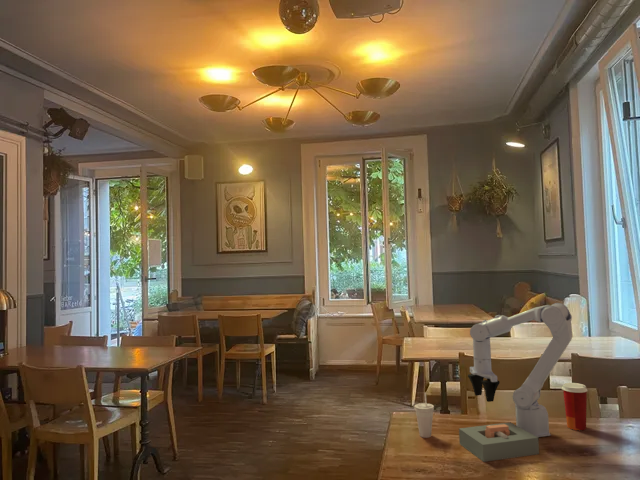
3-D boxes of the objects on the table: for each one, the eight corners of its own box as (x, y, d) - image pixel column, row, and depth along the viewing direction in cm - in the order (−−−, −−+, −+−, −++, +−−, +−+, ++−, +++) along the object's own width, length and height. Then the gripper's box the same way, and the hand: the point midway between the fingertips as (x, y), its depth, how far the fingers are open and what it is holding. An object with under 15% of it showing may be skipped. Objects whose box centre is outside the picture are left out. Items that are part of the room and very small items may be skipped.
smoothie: (435, 439, 162) (433, 395, 162) (415, 438, 163) (413, 395, 164) (435, 432, 168) (433, 390, 169) (415, 431, 170) (413, 389, 170)
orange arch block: (504, 443, 155) (503, 423, 155) (510, 447, 152) (509, 426, 152) (485, 445, 154) (485, 425, 154) (491, 449, 151) (490, 428, 151)
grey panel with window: (511, 437, 162) (510, 419, 162) (539, 454, 148) (538, 434, 148) (459, 444, 158) (458, 425, 158) (483, 461, 144) (482, 441, 144)
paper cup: (590, 425, 169) (588, 383, 169) (588, 433, 163) (586, 389, 163) (564, 422, 173) (562, 381, 174) (561, 429, 167) (559, 386, 167)
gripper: (461, 355, 180) (463, 393, 179) (482, 363, 165) (484, 405, 165) (479, 353, 181) (481, 391, 181) (502, 361, 167) (504, 403, 167)
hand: (484, 398), depth 173 cm, fingers open, 7 cm apart
